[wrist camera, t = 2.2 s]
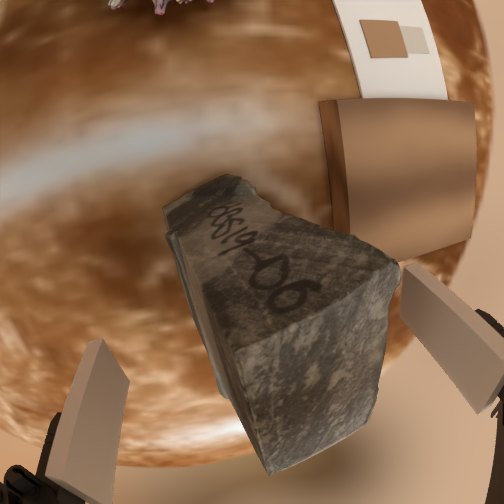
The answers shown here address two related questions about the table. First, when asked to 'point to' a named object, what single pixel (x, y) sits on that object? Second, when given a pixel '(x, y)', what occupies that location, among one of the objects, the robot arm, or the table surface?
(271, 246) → the stone block
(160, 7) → the flower
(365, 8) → the page
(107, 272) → the table surface
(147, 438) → the table surface
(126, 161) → the table surface
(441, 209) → the base brick
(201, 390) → the table surface
